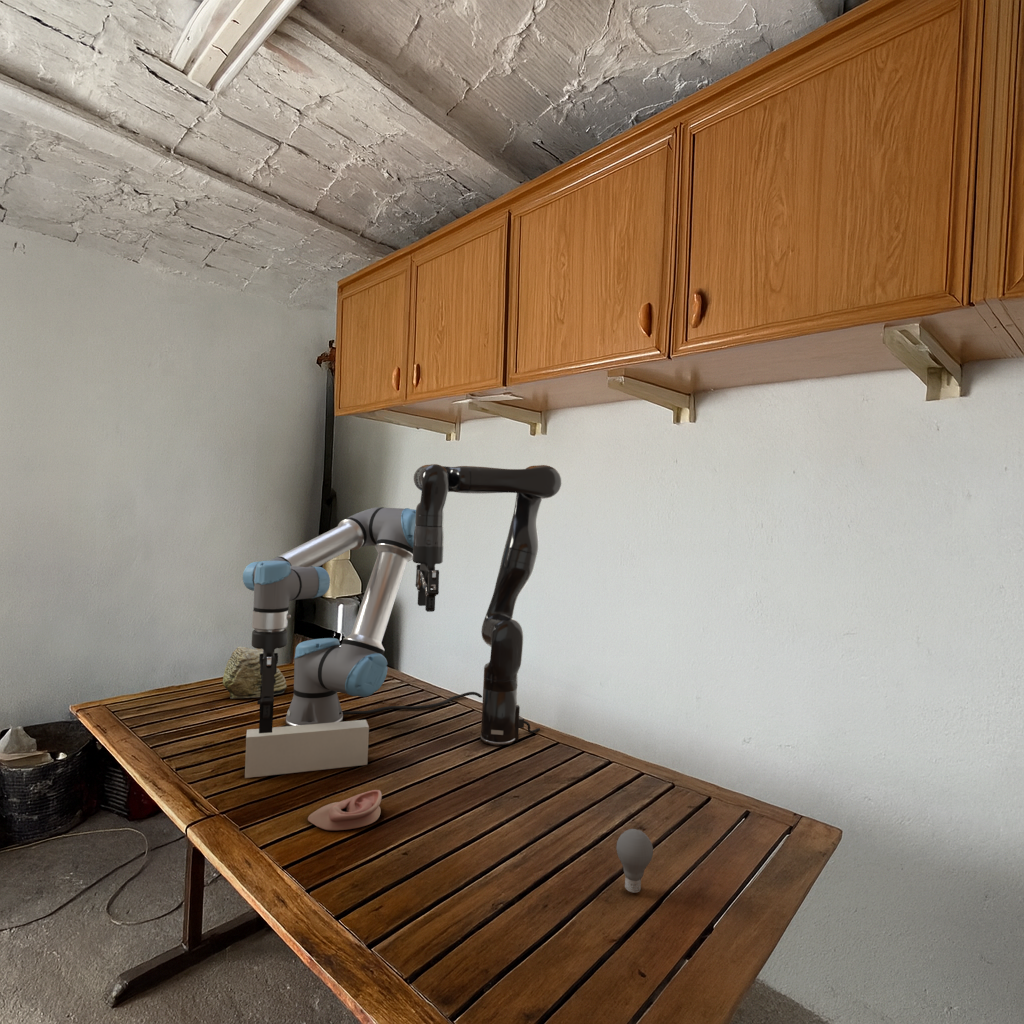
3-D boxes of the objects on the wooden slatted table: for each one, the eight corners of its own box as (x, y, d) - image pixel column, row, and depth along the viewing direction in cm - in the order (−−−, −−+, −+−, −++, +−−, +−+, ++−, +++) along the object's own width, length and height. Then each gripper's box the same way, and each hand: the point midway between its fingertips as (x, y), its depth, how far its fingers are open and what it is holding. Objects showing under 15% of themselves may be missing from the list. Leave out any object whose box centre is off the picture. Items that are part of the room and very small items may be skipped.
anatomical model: (300, 805, 121) (329, 780, 132) (299, 826, 121) (328, 798, 133) (364, 815, 119) (388, 788, 130) (363, 836, 119) (387, 807, 130)
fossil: (218, 695, 195) (220, 647, 195) (278, 685, 208) (279, 640, 207) (228, 703, 189) (230, 653, 188) (289, 692, 201) (290, 645, 201)
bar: (244, 778, 141) (246, 737, 141) (245, 769, 145) (246, 729, 145) (367, 764, 151) (369, 726, 150) (364, 756, 155) (365, 719, 155)
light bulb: (610, 879, 108) (613, 822, 108) (644, 879, 109) (647, 822, 109) (619, 902, 102) (622, 840, 102) (655, 901, 103) (658, 840, 103)
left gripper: (289, 640, 134) (284, 740, 134) (285, 618, 157) (281, 704, 157) (251, 641, 131) (246, 743, 131) (253, 619, 154) (248, 706, 154)
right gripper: (450, 546, 153) (447, 613, 154) (435, 542, 167) (433, 603, 167) (420, 546, 151) (417, 614, 151) (407, 541, 164) (405, 603, 164)
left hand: (265, 722), depth 144 cm, fingers open, 13 cm apart
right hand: (425, 608), depth 159 cm, fingers open, 8 cm apart
